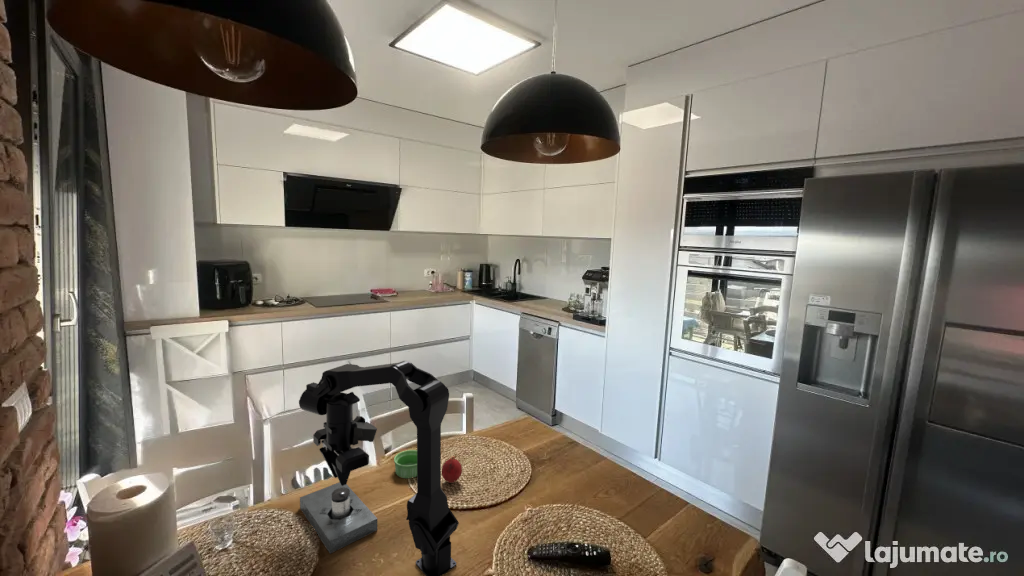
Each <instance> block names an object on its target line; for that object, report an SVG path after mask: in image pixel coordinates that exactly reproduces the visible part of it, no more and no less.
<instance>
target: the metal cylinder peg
mask: <svg viewBox="0 0 1024 576" xmlns="http://www.w3.org/2000/svg"><path fill="white" fill-rule="evenodd" d="M348 516H350V490H349V489H348V488H338V489H336V490H334V491H333V492H332V519H334V520H341V519H343V518H346V517H348Z"/></svg>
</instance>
